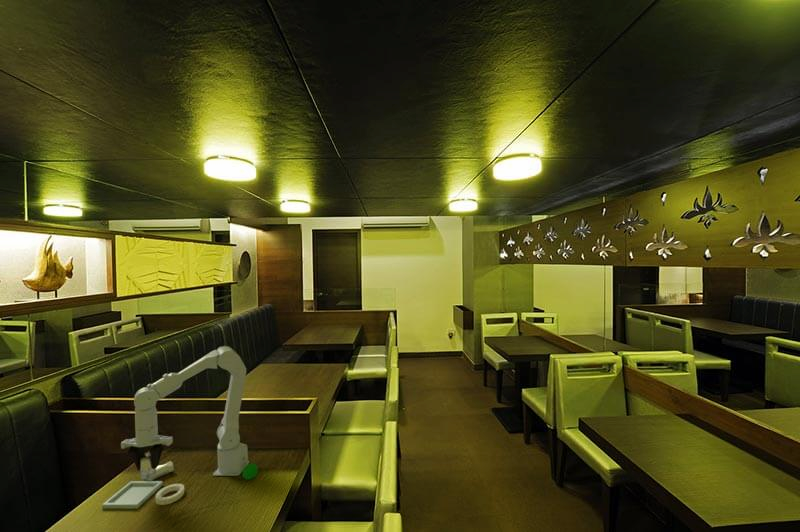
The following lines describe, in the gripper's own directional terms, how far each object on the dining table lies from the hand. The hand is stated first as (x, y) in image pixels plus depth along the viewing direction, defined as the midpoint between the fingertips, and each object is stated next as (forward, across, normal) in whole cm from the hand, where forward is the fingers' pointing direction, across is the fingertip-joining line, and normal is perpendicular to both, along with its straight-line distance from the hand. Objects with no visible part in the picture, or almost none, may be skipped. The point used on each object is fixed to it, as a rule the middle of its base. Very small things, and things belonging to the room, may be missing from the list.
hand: (148, 467), depth 111 cm
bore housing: (+10, -7, +1) cm, 12 cm away
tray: (+10, +5, -1) cm, 11 cm away
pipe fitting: (+10, +4, -12) cm, 16 cm away
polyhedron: (+10, -30, -6) cm, 32 cm away
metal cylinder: (+2, 0, 0) cm, 2 cm away
